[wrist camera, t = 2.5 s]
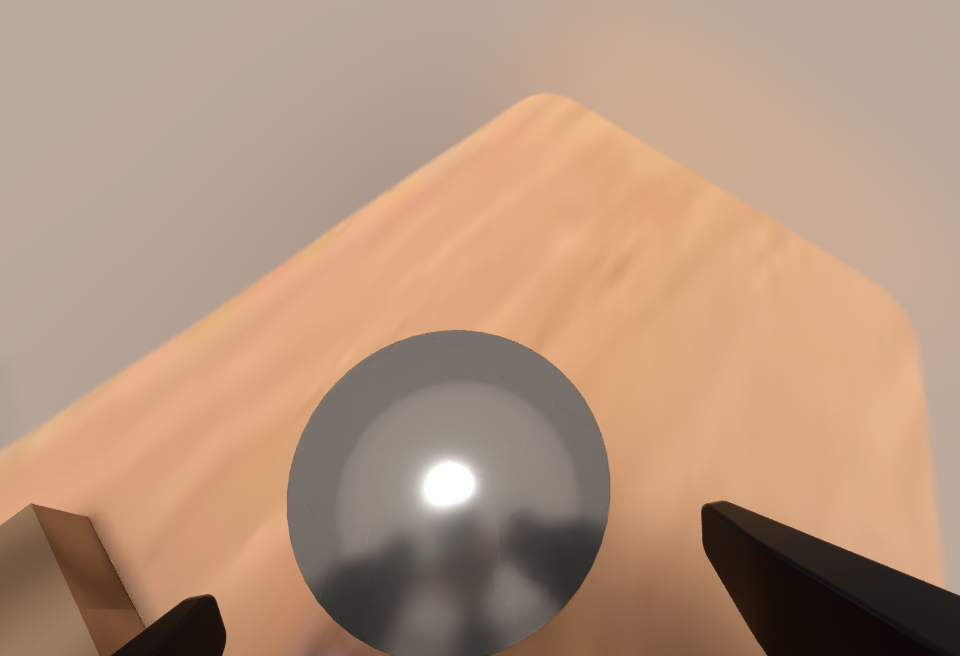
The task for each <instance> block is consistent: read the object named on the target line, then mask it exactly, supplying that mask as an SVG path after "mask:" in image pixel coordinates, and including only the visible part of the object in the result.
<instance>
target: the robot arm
mask: <svg viewBox="0 0 960 656" xmlns="http://www.w3.org/2000/svg"><path fill="white" fill-rule="evenodd" d="M701 519H702V542H703V547H704V550H705V553H706V555H707V557H708V559H709V560H710V562H711V564H712V566H713V567H714V569H715V571H716V572H717V574H718V576H719V578H720V579H721V581H722V583H723V584H724V586H725V588H726V589H727V591H728V593H729V595H730V596H731V598H732V600H733V601H734V603H735V605H736V607H737V608H738V610H739V612H740V613H741V615H742V617H743V618H744V620H745V622H746V624H747V625H748V627H749V629H750V630H751V632H752V633H753V635H754V637H755V638H756V640H757V641H758V643H759V644H760V646H761V647H762V649H763V650H764V652H765V653H766V654H767V656H960V596H959V595H957V594H954V593H952V592H950V591H947V590H945V589H942V588H940V587H937V586H935V585H932V584H930V583H927V582H925V581H922V580H920V579H917V578H915V577H912V576H910V575H908V574H905V573H903V572H900V571H898V570H895V569H893V568H890V567H888V566H885V565H883V564H880V563H878V562H875V561H873V560H871V559H868V558H866V557H863V556H861V555H858V554H856V553H853V552H851V551H848V550H846V549H843V548H841V547H838V546H836V545H833V544H831V543H829V542H826V541H824V540H821V539H819V538H816V537H814V536H811V535H809V534H806V533H804V532H801V531H799V530H796V529H794V528H792V527H789V526H787V525H784V524H782V523H779V522H777V521H774V520H772V519H769V518H767V517H764V516H762V515H759V514H757V513H754V512H752V511H750V510H747V509H745V508H742V507H740V506H737V505H735V504H732V503H730V502H727V501H717V502H712V503H706V504H704V505H703V507H702V510H701ZM225 644H226V630H225V627H224V623H223V620H222V617H221V614H220V611H219V608H218V605H217V601H216V599H215V597H214V596H213V595H210V594H206V595H200V596H194V597H190V598H187V599H185V600H183V601H182V602H181V603H179V604H178V605H177V606H175V607H174V608H173V609H171V610H170V611H169V612H167V613H166V614H165V615H163V616H162V617H161V618H159V619H158V620H157V621H155V622H154V623H153V624H151V625H150V626H149V627H147V628H146V629H145V630H143V631H142V632H141V633H139V634H138V635H137V636H136V637H134V638H133V639H132V640H130V641H129V642H128V643H126V644H125V645H124V646H122V647H121V648H120V649H118V650H117V651H116V652H114V653H113V654H112V655H110V656H222V655H223V652H224V648H225Z"/></svg>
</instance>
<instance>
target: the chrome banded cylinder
mask: <svg viewBox="0 0 960 656" xmlns="http://www.w3.org/2000/svg"><path fill="white" fill-rule="evenodd" d="M609 504H610V472H609V465H608V458H607V453H606V449H605V445H604V441H603V438H602V434H601V432H600V429H599V427H598V425H597V422H596V420H595V417H594V415H593V413H592V412H591V410H590V408H589V406H588V405H587V403H586V401H585V399H584V398H583V397H582V395H581V394H580V393H579V391H578V390H577V389H576V387H575V386H574V385H573V383H572V382H571V381H570V380H569V379H568V378H567V377H566V376H565V375H564V374H563V373H562V372H561V371H560V370H559V369H558V368H557V367H555V366H554V365H553V364H552V363H550V362H549V361H548V360H547V359H545V358H544V357H542V356H541V355H539V354H538V353H536V352H534V351H533V350H531V349H529V348H527V347H525V346H523V345H521V344H519V343H517V342H515V341H512V340H509V339H506V338H503V337H500V336H496V335H492V334H487V333H483V332H475V331H465V330H451V331H439V332H430V333H426V334H421V335H417V336H413V337H410V338H407V339H404V340H401V341H398V342H395V343H393V344H391V345H389V346H387V347H385V348H383V349H380V350H379V351H377V352H375V353H374V354H372V355H370V356H369V357H367V358H365V359H364V360H362V361H361V362H360V363H359V364H357V365H356V366H355V367H353V368H352V369H351V370H349V371H348V372H347V373H346V374H345V375H344V376H343V377H342V378H341V379H340V380H339V381H338V382H337V383H336V384H335V385H334V386H333V387H332V388H331V389H330V391H329V392H328V393H327V394H326V395H325V397H324V398H323V399H322V400H321V402H320V403H319V405H318V406H317V408H316V409H315V411H314V412H313V414H312V415H311V417H310V419H309V421H308V423H307V425H306V427H305V429H304V431H303V433H302V435H301V438H300V440H299V443H298V446H297V448H296V451H295V454H294V458H293V462H292V466H291V470H290V475H289V482H288V490H287V520H288V527H289V535H290V540H291V544H292V548H293V551H294V555H295V558H296V561H297V564H298V566H299V568H300V571H301V573H302V575H303V577H304V580H305V582H306V584H307V585H308V587H309V588H310V590H311V591H312V593H313V595H314V596H315V598H316V599H317V601H318V602H319V603H320V605H321V606H322V607H323V608H324V609H325V610H326V612H327V613H328V614H329V615H330V616H331V617H332V618H333V620H335V621H336V622H337V623H338V624H339V625H341V626H342V627H343V628H344V629H345V630H347V631H348V632H349V633H350V634H351V635H353V636H354V637H356V638H358V639H359V640H361V641H363V642H364V643H366V644H368V645H370V646H371V647H373V648H375V649H378V650H380V651H383V652H386V653H388V654H391V655H393V656H487V655H491V654H494V653H497V652H500V651H502V650H504V649H506V648H508V647H510V646H512V645H515V644H517V643H519V642H521V641H523V640H524V639H526V638H527V637H529V636H530V635H532V634H533V633H534V632H536V631H537V630H539V629H540V628H542V627H543V626H545V625H546V624H547V623H548V622H549V621H550V620H551V619H552V618H553V617H554V616H555V615H556V614H557V613H558V612H560V611H561V610H562V609H563V608H564V606H565V605H566V604H567V603H568V601H569V600H570V599H571V598H572V596H573V595H574V594H575V593H576V591H577V590H578V589H579V588H580V586H581V584H582V582H583V581H584V579H585V577H586V576H587V574H588V572H589V571H590V569H591V567H592V565H593V563H594V560H595V558H596V555H597V553H598V551H599V548H600V546H601V543H602V539H603V535H604V532H605V528H606V524H607V519H608V512H609Z"/></svg>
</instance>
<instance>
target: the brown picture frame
mask: <svg viewBox="0 0 960 656" xmlns="http://www.w3.org/2000/svg"><path fill="white" fill-rule="evenodd" d="M143 630H145V628H144V626H143V624H142V622H141V620H140V618H139V616H138V614H137V612H136V610H135V608H134V606H133V604H132V603H131V601H130V599H129V597H128V595H127V593H126V591H125V589H124V587H123V585H122V583H121V581H120V579H119V577H118V575H117V573H116V571H115V570H114V568H113V566H112V564H111V562H110V560H109V558H108V556H107V554H106V552H105V550H104V548H103V546H102V544H101V542H100V540H99V538H98V537H97V535H96V533H95V531H94V529H93V527H92V525H91V523H90V521H89V519H88V517H85V516H80V515H76V514H72V513H68V512H64V511H60V510H56V509H52V508H47V507H43V506H39V505H35V504H29V505H28V506H27V507H25V508H24V509H22V510H21V511H20V512H18V513H17V514H16V515H14V516H13V517H12V518H10V519H9V520H7V521H6V522H5V523H3V524H2V525H1V526H0V656H110V655H112V654H113V653H114V652H116V651H117V650H118V649H120V648H121V647H122V646H124V645H125V644H126V643H128V642H129V641H130V640H132V639H133V638H134V637H136V636H137V635H138V634H139V633H141V632H142V631H143Z"/></svg>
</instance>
